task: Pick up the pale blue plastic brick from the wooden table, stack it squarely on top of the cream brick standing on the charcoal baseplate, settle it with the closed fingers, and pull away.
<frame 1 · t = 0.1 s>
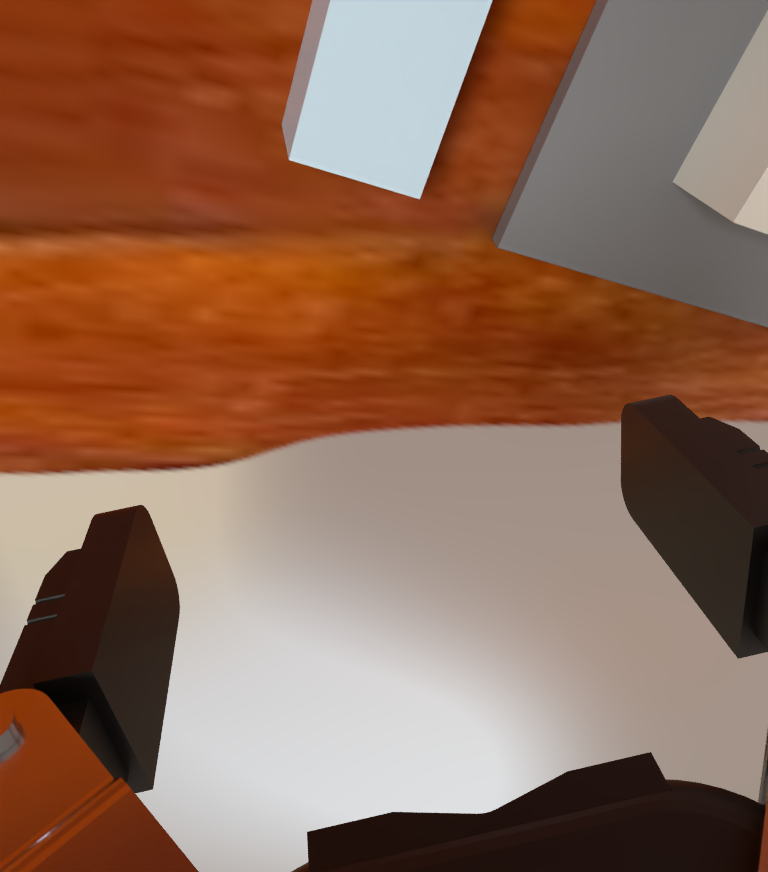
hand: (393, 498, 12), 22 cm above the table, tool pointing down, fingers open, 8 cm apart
pale blue brick: (370, 38, 28), on the table
charcoal baseplate: (756, 102, 32), on the table
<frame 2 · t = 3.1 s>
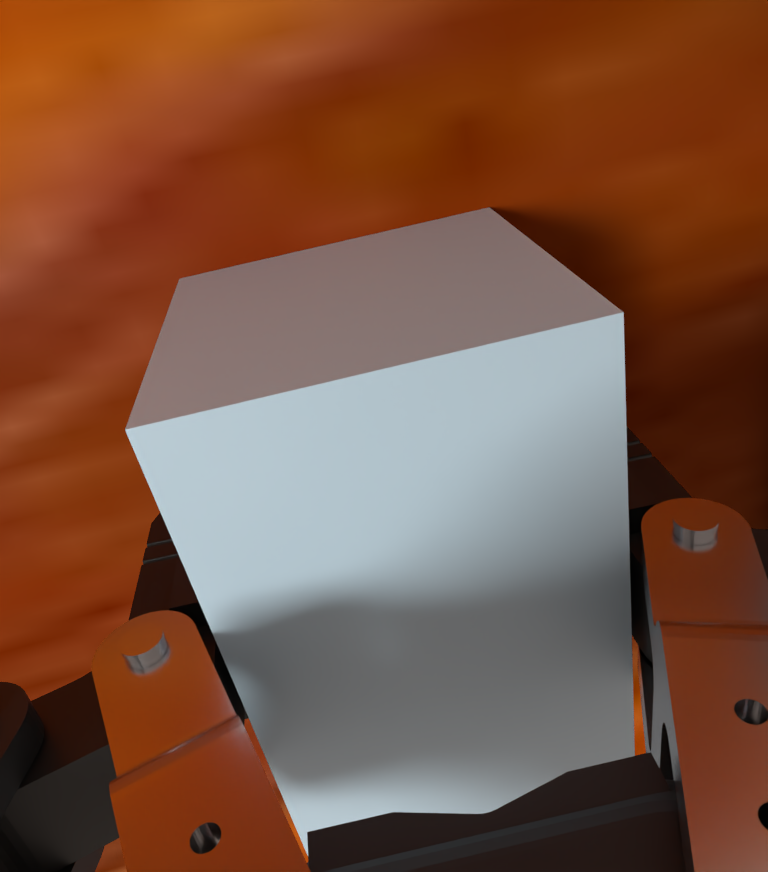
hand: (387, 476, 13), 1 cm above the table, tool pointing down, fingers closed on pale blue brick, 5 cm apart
pale blue brick: (383, 454, 13), on the table, touching gripper
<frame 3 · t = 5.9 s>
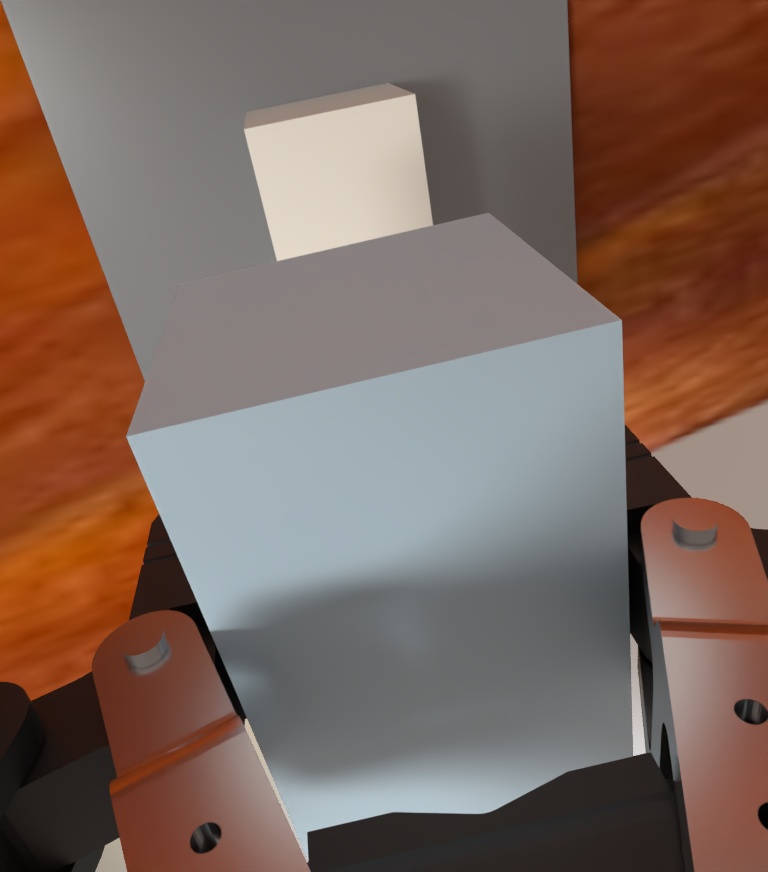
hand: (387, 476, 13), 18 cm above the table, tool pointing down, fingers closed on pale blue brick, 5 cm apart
cream base brick: (340, 213, 27), point 1 cm above the table, touching charcoal baseplate
pale blue brick: (382, 458, 13), point 17 cm above the table, touching gripper
charcoal baseplate: (338, 207, 28), on the table
when the fingers open (8 cm above the table, at t = 8.6 s): pale blue brick drops 1 cm, resting on cream base brick.
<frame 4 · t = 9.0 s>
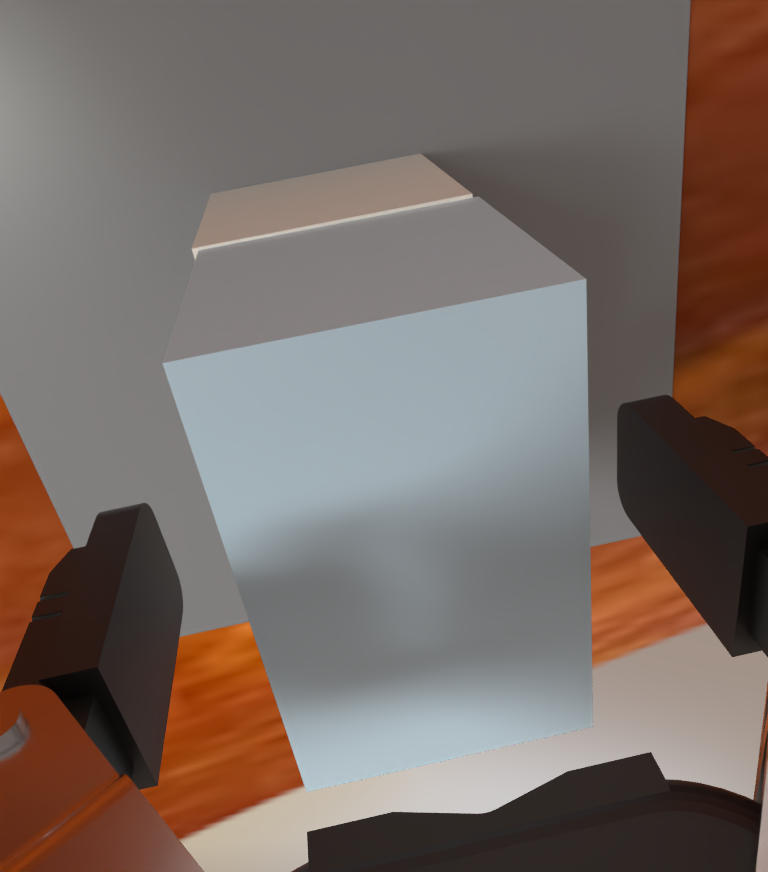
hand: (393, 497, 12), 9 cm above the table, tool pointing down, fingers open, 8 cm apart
cream base brick: (347, 331, 19), point 1 cm above the table, touching charcoal baseplate, pale blue brick
pale blue brick: (376, 420, 15), point 6 cm above the table, touching cream base brick
charcoal baseplate: (344, 318, 20), on the table
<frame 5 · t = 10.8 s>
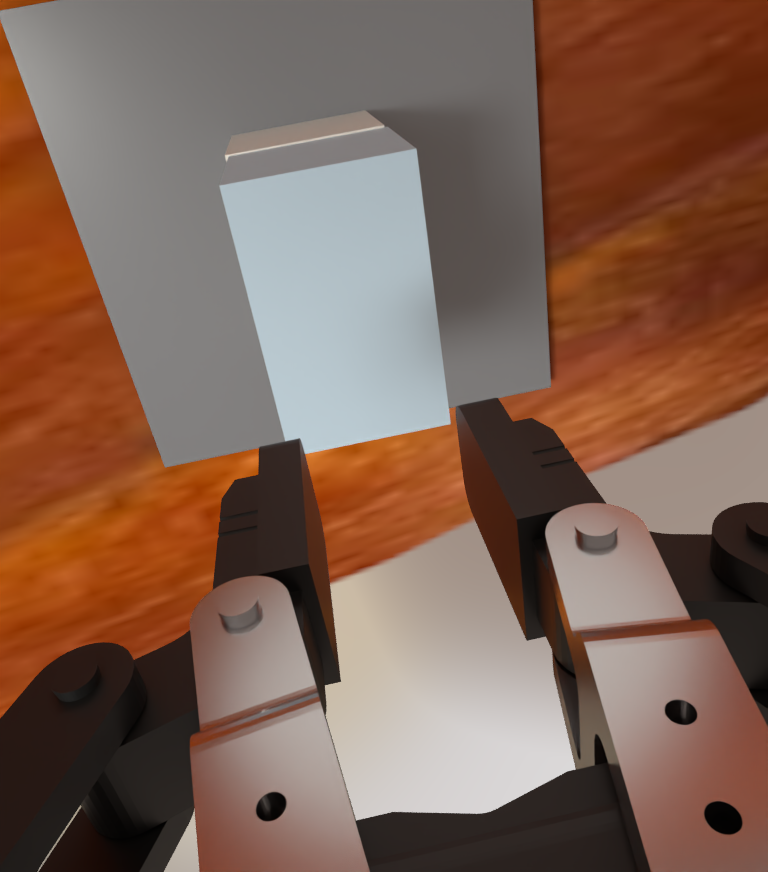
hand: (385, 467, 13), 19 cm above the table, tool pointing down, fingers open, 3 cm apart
cream base brick: (320, 231, 29), point 1 cm above the table, touching charcoal baseplate, pale blue brick
pale blue brick: (332, 267, 24), point 6 cm above the table, touching cream base brick
charcoal baseplate: (319, 225, 30), on the table
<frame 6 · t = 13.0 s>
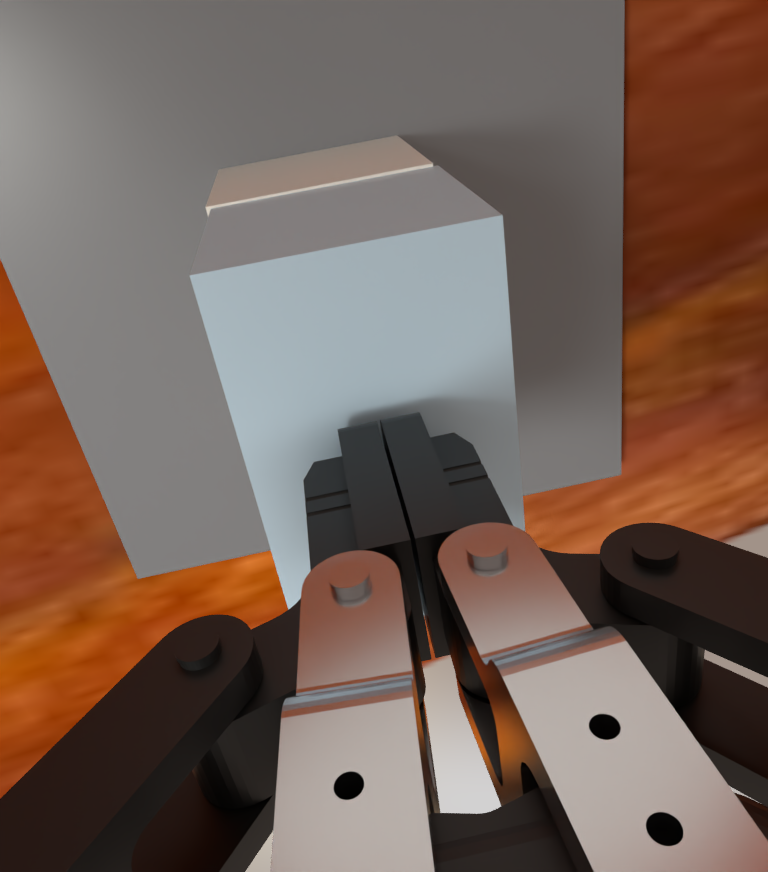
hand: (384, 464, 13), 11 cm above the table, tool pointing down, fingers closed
cream base brick: (335, 290, 22), point 1 cm above the table, touching charcoal baseplate, pale blue brick
pale blue brick: (357, 355, 18), point 6 cm above the table, touching cream base brick
charcoal baseplate: (333, 280, 23), on the table
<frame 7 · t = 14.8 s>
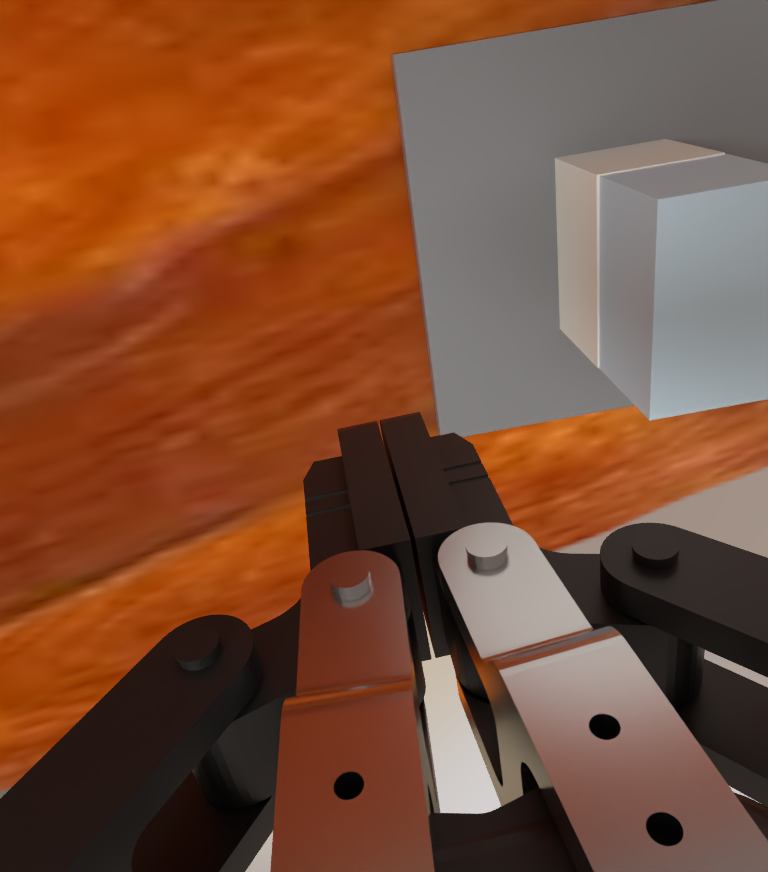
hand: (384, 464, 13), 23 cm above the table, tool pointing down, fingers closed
cream base brick: (609, 239, 34), point 1 cm above the table, touching charcoal baseplate, pale blue brick
pale blue brick: (659, 268, 29), point 6 cm above the table, touching cream base brick
charcoal baseplate: (602, 234, 35), on the table
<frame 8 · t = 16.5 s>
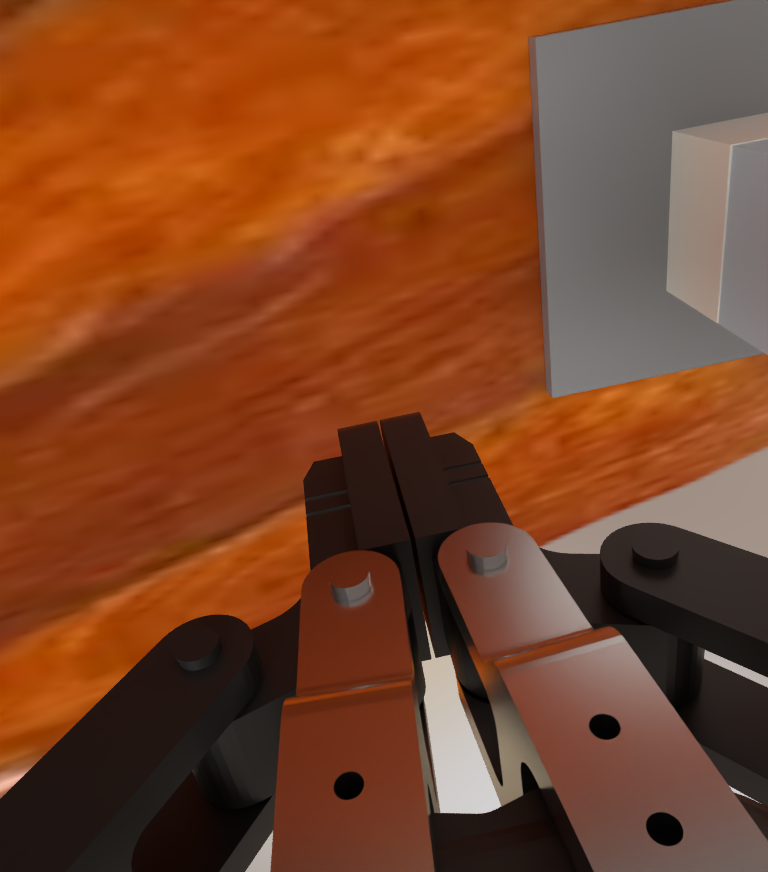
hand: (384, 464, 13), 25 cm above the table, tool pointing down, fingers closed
cream base brick: (716, 205, 37), point 1 cm above the table, touching charcoal baseplate, pale blue brick
charcoal baseplate: (706, 201, 38), on the table
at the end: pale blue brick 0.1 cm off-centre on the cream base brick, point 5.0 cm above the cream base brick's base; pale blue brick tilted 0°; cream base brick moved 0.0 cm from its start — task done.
